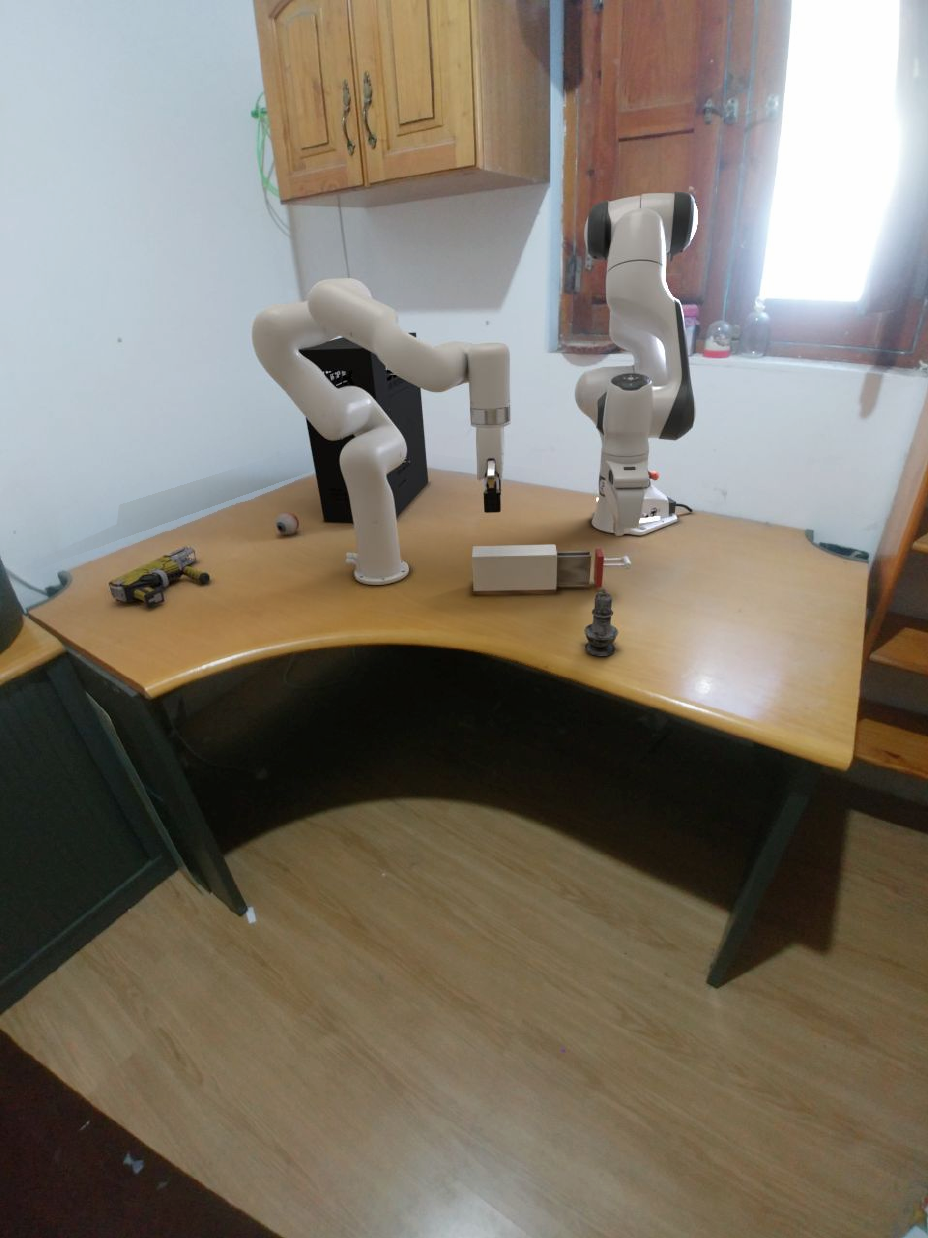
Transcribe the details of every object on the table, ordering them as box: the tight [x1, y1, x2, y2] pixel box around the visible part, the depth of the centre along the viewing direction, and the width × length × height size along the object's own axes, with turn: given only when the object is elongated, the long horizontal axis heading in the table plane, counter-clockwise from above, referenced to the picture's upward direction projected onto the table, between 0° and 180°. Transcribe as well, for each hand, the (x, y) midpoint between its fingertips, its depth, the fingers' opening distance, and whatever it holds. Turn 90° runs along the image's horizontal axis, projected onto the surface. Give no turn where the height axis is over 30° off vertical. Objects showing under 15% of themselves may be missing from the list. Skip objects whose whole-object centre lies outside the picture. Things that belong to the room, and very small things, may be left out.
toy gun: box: [108, 545, 211, 609], centre depth 140 cm, size 5×24×15 cm
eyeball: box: [275, 511, 300, 536], centre depth 163 cm, size 6×6×6 cm
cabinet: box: [471, 543, 558, 596], centre depth 128 cm, size 18×6×9 cm, turn 87°
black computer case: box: [298, 332, 429, 523], centre depth 175 cm, size 38×20×45 cm, turn 167°
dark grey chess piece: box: [583, 588, 619, 657], centre depth 105 cm, size 6×6×12 cm
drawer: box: [556, 547, 633, 589], centre depth 127 cm, size 22×4×7 cm, turn 87°
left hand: (492, 503), depth 121 cm, fingers open, 9 cm apart
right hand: (618, 532), depth 123 cm, fingers closed
